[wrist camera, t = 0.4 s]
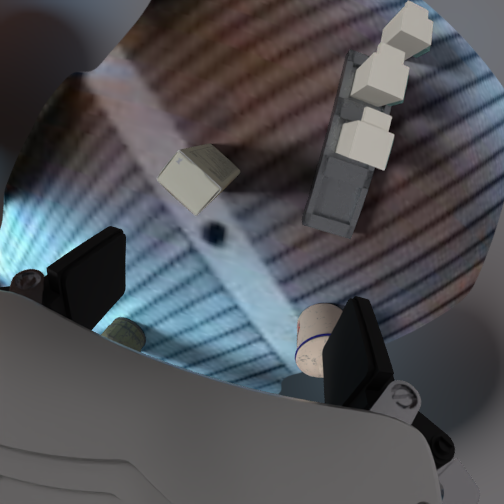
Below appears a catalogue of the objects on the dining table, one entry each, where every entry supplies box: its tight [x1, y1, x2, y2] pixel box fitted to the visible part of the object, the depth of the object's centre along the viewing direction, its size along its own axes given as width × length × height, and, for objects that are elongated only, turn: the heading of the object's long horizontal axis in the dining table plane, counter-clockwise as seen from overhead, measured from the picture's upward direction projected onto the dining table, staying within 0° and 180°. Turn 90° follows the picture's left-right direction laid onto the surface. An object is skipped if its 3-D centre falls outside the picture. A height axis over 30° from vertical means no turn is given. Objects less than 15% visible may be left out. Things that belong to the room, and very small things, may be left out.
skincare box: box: [157, 144, 240, 216], centre depth 32 cm, size 6×4×12 cm
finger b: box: [335, 107, 394, 170], centre depth 27 cm, size 6×5×9 cm
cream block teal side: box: [350, 42, 409, 107], centre depth 24 cm, size 6×5×9 cm
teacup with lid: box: [295, 303, 343, 377], centre depth 41 cm, size 12×9×12 cm
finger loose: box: [381, 1, 433, 61], centre depth 22 cm, size 6×5×9 cm
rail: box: [302, 49, 391, 239], centre depth 32 cm, size 25×7×3 cm, turn 167°
